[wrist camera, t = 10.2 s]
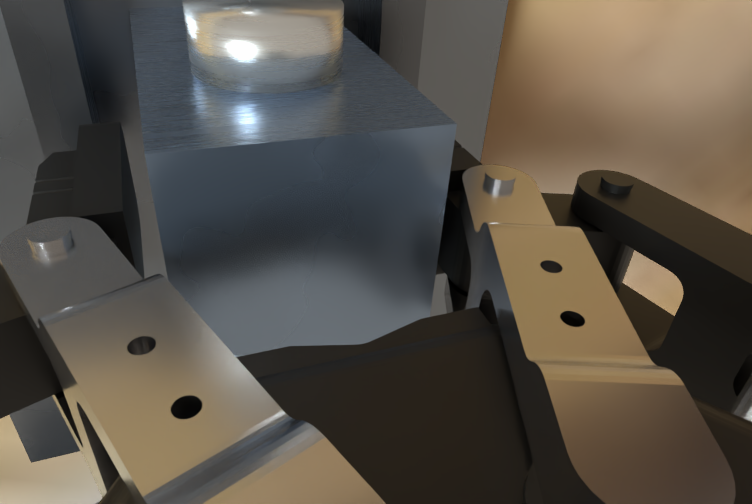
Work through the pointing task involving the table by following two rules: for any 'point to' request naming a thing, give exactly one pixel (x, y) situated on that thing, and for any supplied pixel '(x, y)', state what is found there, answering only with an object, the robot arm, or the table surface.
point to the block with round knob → (289, 172)
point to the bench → (121, 104)
